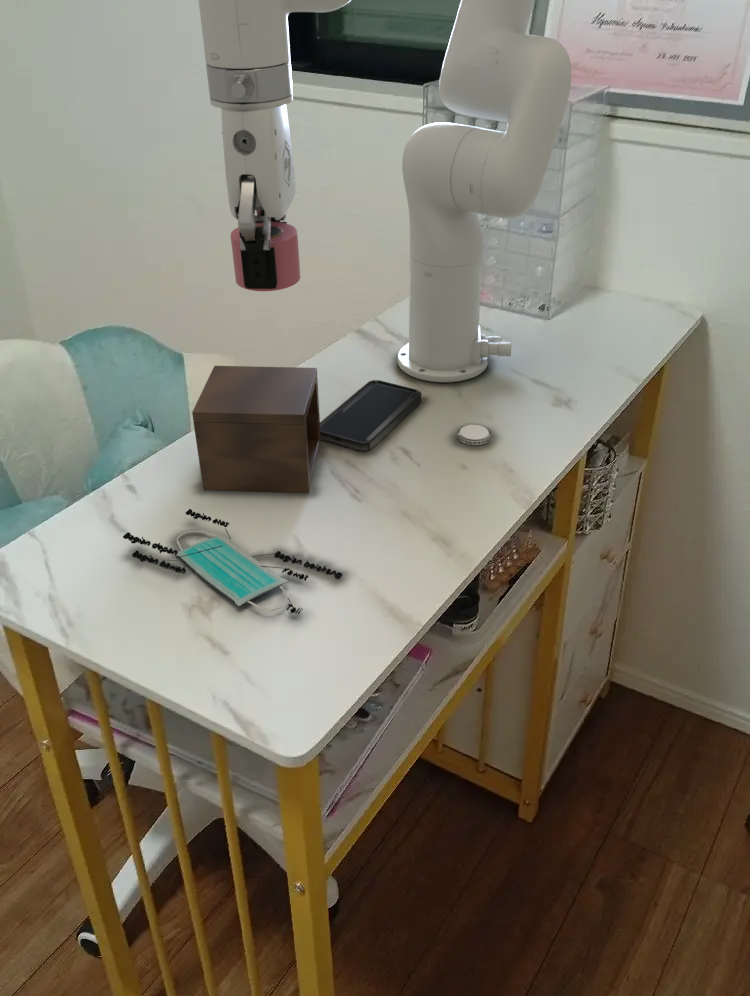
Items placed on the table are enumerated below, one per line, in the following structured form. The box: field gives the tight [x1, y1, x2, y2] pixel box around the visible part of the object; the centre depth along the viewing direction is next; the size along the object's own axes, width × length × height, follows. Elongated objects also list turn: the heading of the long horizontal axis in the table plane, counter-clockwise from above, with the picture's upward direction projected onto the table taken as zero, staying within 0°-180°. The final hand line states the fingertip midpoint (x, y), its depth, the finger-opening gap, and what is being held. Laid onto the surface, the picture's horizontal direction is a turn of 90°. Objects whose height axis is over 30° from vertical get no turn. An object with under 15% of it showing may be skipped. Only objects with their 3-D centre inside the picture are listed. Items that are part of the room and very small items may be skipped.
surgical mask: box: [122, 508, 343, 616], centre depth 89 cm, size 21×4×10 cm
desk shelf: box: [191, 365, 322, 494], centre depth 103 cm, size 12×11×10 cm
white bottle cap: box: [456, 423, 492, 446], centre depth 110 cm, size 4×4×1 cm
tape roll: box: [230, 221, 301, 292], centre depth 91 cm, size 7×7×5 cm
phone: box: [320, 379, 422, 452], centre depth 114 cm, size 8×1×15 cm
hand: (267, 271), depth 92 cm, fingers closed on tape roll, 6 cm apart
